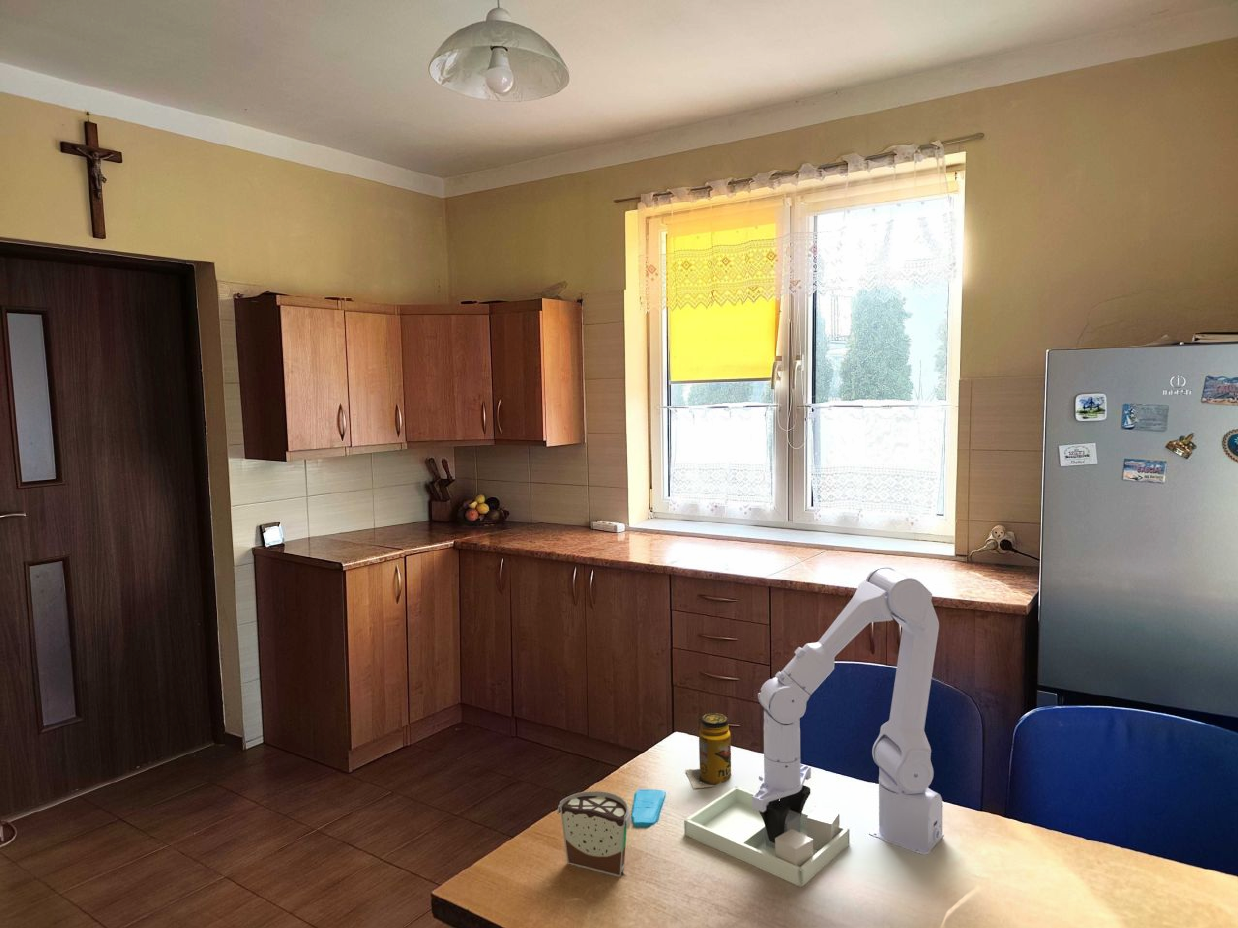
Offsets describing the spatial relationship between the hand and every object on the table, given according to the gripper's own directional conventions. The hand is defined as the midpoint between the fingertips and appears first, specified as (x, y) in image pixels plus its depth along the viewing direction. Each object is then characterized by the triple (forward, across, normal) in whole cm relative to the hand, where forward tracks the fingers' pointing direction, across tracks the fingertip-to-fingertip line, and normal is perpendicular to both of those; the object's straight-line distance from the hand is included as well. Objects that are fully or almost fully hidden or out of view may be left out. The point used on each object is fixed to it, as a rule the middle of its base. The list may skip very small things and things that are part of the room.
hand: (783, 835), depth 128 cm
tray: (+2, 0, -3) cm, 4 cm away
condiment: (+2, -12, -23) cm, 26 cm away
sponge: (+2, +5, -25) cm, 26 cm away
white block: (+1, +5, +5) cm, 7 cm away
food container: (+2, +22, -20) cm, 29 cm away
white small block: (+1, -4, +5) cm, 7 cm away
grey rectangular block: (+1, 0, 0) cm, 1 cm away
